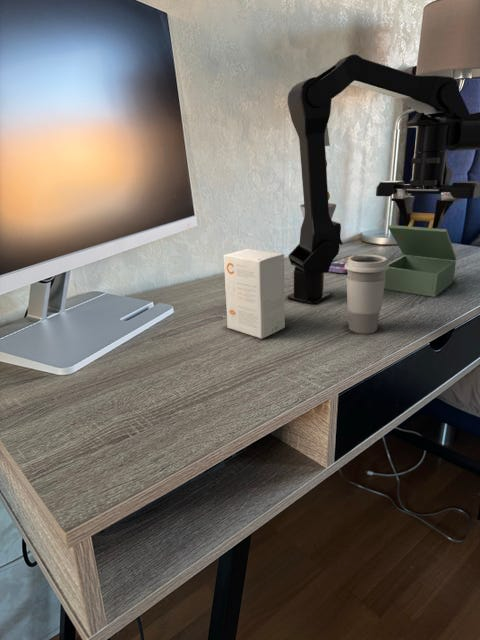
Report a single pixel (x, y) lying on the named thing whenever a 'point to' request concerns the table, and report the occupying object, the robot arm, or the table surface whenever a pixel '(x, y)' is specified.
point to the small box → (255, 292)
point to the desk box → (419, 275)
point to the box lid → (423, 239)
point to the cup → (365, 291)
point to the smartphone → (339, 265)
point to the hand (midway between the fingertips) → (421, 232)
